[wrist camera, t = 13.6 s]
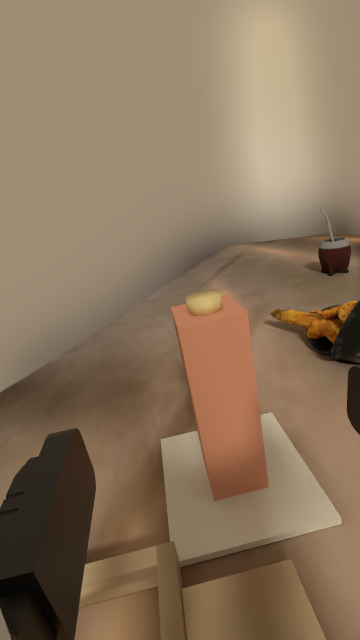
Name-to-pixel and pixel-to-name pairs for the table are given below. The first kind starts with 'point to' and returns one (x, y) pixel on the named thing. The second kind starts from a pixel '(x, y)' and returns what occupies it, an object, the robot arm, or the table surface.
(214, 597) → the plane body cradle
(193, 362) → the salmon block with knob
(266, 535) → the felt pad
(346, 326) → the fried shrimp in bowl
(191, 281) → the table surface
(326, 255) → the mate gourd
